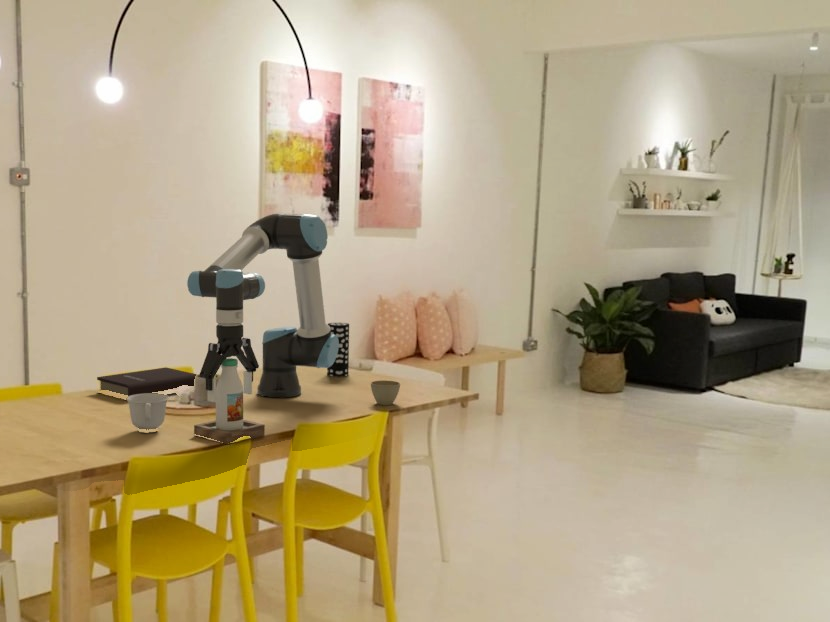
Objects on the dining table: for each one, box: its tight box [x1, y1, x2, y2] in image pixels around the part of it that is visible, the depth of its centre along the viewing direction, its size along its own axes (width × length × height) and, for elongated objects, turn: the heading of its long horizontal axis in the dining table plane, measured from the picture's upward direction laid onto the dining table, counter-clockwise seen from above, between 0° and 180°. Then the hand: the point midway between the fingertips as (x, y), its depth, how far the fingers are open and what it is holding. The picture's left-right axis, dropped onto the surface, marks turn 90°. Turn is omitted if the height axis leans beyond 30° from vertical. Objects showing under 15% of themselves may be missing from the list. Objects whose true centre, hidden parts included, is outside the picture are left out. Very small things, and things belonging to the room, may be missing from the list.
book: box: [96, 366, 197, 396], centre depth 325 cm, size 28×20×6 cm
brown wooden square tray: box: [193, 419, 266, 445], centre depth 268 cm, size 14×14×3 cm
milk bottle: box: [215, 357, 244, 431], centre depth 267 cm, size 8×8×20 cm
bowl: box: [370, 379, 401, 406], centre depth 315 cm, size 10×10×7 cm
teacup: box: [126, 393, 170, 430], centre depth 269 cm, size 12×15×10 cm
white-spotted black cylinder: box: [326, 322, 350, 378], centre depth 364 cm, size 8×8×20 cm
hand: (230, 397), depth 267 cm, fingers open, 13 cm apart
